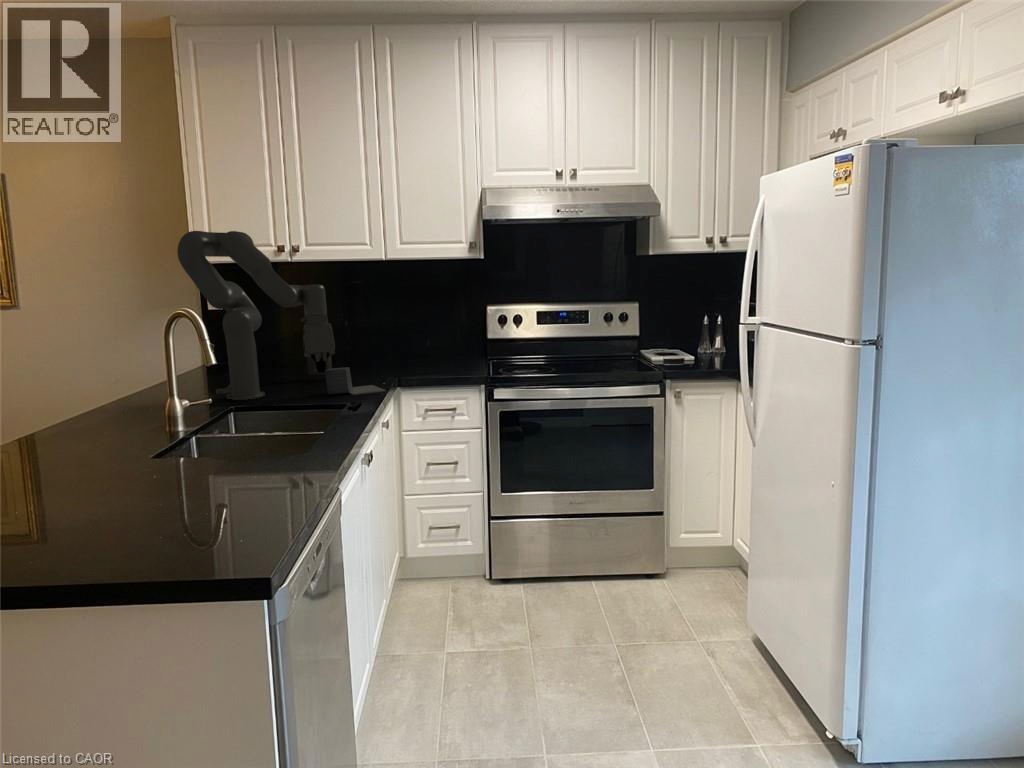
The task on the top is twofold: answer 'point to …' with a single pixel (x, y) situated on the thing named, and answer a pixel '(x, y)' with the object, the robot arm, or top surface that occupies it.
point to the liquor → (313, 373)
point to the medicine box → (338, 380)
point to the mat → (366, 390)
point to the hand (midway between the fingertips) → (321, 372)
